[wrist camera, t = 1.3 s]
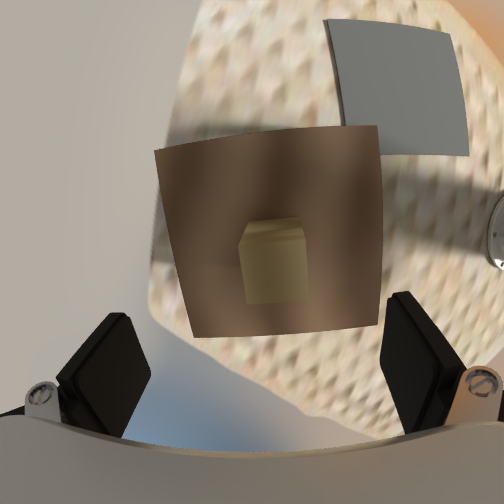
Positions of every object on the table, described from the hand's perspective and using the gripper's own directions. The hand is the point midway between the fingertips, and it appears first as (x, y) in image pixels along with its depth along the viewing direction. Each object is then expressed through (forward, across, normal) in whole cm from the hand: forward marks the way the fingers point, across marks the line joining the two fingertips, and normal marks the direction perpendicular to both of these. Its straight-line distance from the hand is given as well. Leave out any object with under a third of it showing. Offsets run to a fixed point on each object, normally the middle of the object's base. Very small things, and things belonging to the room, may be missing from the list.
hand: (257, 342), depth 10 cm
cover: (+25, -1, 0) cm, 25 cm away
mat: (+25, -18, -13) cm, 33 cm away
